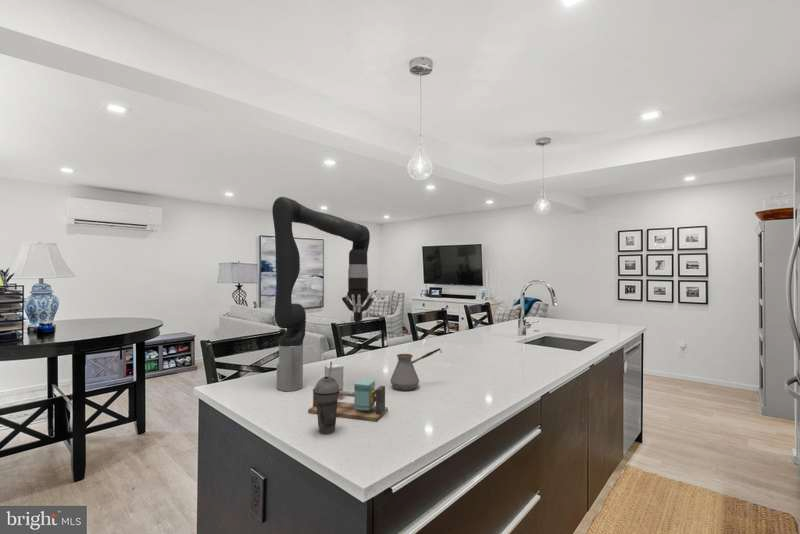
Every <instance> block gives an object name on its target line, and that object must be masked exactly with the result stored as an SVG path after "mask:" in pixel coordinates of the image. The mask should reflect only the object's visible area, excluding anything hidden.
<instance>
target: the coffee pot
mask: <svg viewBox="0 0 800 534" xmlns="http://www.w3.org/2000/svg"><path fill="white" fill-rule="evenodd" d="M437 352H440V353H441V354H443V350H442V349H441V348H440V347H439V348H437V349H434V350H433V351H428V352H427V353H425V354H423V355H422V356H420V357H418V358H416V359H414V360H412V359H413V354H410V353H400V354H398V353H397V355H396V357H397V364H396V365H395V368H394V371H393V373H392V375H391V378H390V384H391V385H392V386H393V387H394V389H396V390H399V391H412V390H414V389H415V388H416V387H417V386H418V385H419V382H420V379H419V377H418V374H417V371H416V370H415V366H414V364H415V363H416V362H417V363H418V361H420V360H423V359H425V358H427V357H430V356H431V355H434V354H435V353H437Z"/></svg>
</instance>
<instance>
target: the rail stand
mask: <svg viewBox="0 0 800 534" xmlns="http://www.w3.org/2000/svg"><path fill="white" fill-rule="evenodd" d="M314 391H315V387H314V388H312V407H310V408H308V411H307V414H310V415H317V403H316V398H315V393H314ZM339 395H342V396H343V397H352V398H354V391H348V390H343V391H339ZM374 402H375V405H374V406H373V407H372V408H371V409H370V410H361V409H354V403H352V402H344V401H337V413H336V418H343V419H349V420H350V419H351V420H359V421H365V422H366V421H367V422H375V423H378V422H379V421H380V420H381V419H382V418H383V417H384V416H385V415H386V413H388V412H389V408H388V406H387V407H386V386H385V385H379V386H378V387H377V388H375V389H373V390H372V391H371V392H370V404H373V403H374Z"/></svg>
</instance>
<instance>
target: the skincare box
mask: <svg viewBox="0 0 800 534" xmlns="http://www.w3.org/2000/svg"><path fill="white" fill-rule="evenodd" d="M329 369H330V364H326V365H324V377H329ZM330 377H332V378H334V379H335V380H336V381H337V383H338V386H339V390H340V391H344V365H343V364H341V363H335V364H333V363H332V367H331V375H330ZM343 399H344V396H342V395H339V396H338V400H343Z"/></svg>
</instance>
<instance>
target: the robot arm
mask: <svg viewBox="0 0 800 534" xmlns="http://www.w3.org/2000/svg"><path fill="white" fill-rule="evenodd" d="M271 209H272V219H273V220H272V221H273V227H274V228H273V229H274V238H275V239H274V241H275V244H274V245H275V246H274V247H275V273H276V274H275V275H276V277H275V281H276V282H275V303H274V321H275V324H276V325H277V326H278V328H280V329H286V330H285V332H284V333H283V334H282V335H281V336H280V337H279V339H278V363H277V364H276V390H279V391H282V392H294V391H299V390H302V388H303V387H304V384H303V383H304V339H305V336H306V327H307V326H306V325H307V323H306V322H307V315H306V310H305V308H304V306H303V305H302V304H300V303H292V301H293V300H292V294H293V289H294V286H295V285H296V282H297V280H298V277H299V275H300V271H301V260H300V259H301V257H300V251H299V249H298V245H297V243H296V240H295V237H294V234H293V223H296V224H303V225H306V226H310V227H313V228H315V229H317V230H319V231H322V232H324V233H327V234H330V235H332V236H336V237H340V238H342V239H345V240H346V241H347V240H348V241H350V242H352V246H351V247H352V249H351V250H349V253H348V270H347V272H348V273H347V275H348V276H347V277H348V278H347V289H348V291H347V294H346V295H345V296H344V297H343V296H342V297H341V301H343V303H344V305H345V306H346V308H347V309H348V310H349V311H351V312H352V313H353V321H354V323H361V322H362V320H363V312H364V311H367V310H368V309H369V308H370V306H371V305H372V304H373V303H374V301H375V298H374V297H372V296H371V295H370V292H369V268H368V251H369V246H370V239H371V235H370V231H369V229H368V227H367V226H365V225H363V224H359V223H356V222H353V221H349V220H346V219H343V218H341V217H339V216H336V215H332V214H329V213H325V212H320V211H316V210H313V209H311V208H309V207H307V206H305V205H303V204H301V203H299V202H298V201H296V200H294V199H292V198H289V197H286V196H280V197H279V196H278V197H277V198H276V199H275V200H274V202H273V204H272V208H271Z"/></svg>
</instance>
